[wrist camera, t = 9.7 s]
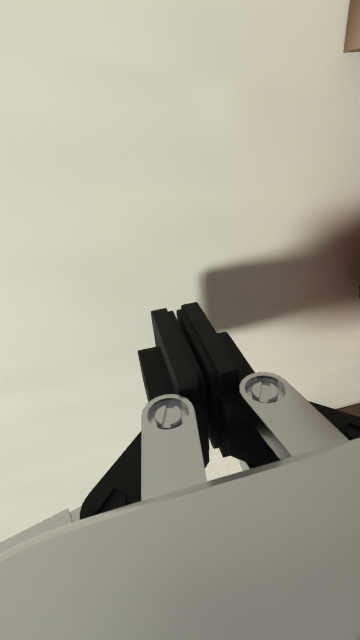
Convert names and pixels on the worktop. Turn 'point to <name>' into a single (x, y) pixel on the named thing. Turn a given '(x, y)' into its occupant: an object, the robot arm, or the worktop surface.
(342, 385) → the worktop surface
